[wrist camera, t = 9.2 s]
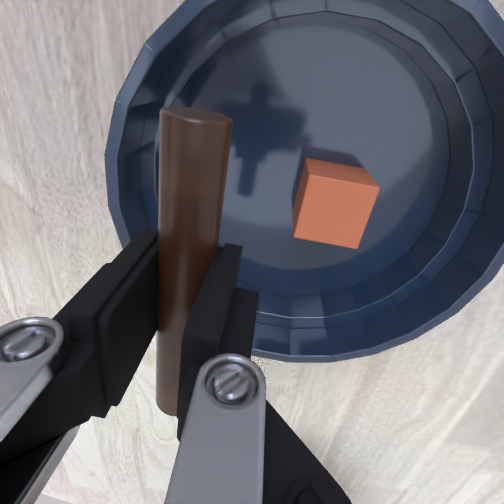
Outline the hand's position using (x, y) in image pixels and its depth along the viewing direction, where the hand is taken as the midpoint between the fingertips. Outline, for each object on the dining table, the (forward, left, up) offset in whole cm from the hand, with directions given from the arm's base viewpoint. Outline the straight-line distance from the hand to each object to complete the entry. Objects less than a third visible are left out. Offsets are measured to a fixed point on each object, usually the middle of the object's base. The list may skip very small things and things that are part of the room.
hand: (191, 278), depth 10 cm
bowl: (+3, +2, -11) cm, 12 cm away
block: (+5, +3, -11) cm, 12 cm away
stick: (0, 0, 0) cm, 0 cm away
